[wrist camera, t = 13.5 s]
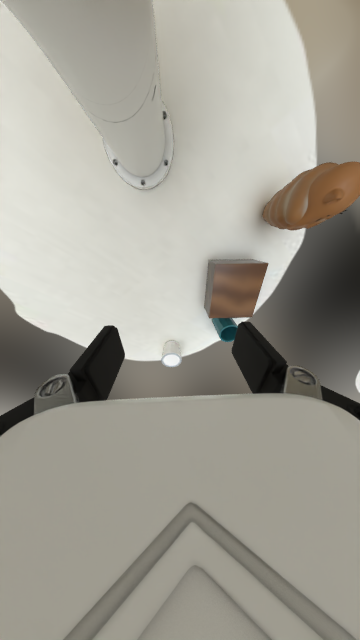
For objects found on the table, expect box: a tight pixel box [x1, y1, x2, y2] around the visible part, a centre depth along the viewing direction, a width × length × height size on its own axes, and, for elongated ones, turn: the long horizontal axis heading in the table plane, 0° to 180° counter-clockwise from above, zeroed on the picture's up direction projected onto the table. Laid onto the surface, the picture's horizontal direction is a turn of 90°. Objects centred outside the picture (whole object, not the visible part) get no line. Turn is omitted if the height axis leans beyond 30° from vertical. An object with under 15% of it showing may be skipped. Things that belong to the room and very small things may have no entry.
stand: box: [204, 259, 268, 318], centre depth 37 cm, size 14×12×7 cm
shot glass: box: [161, 341, 182, 367], centre depth 48 cm, size 7×7×7 cm
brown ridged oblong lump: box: [263, 162, 360, 230], centre depth 23 cm, size 9×8×18 cm
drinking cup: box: [212, 318, 238, 342], centre depth 42 cm, size 8×6×6 cm
